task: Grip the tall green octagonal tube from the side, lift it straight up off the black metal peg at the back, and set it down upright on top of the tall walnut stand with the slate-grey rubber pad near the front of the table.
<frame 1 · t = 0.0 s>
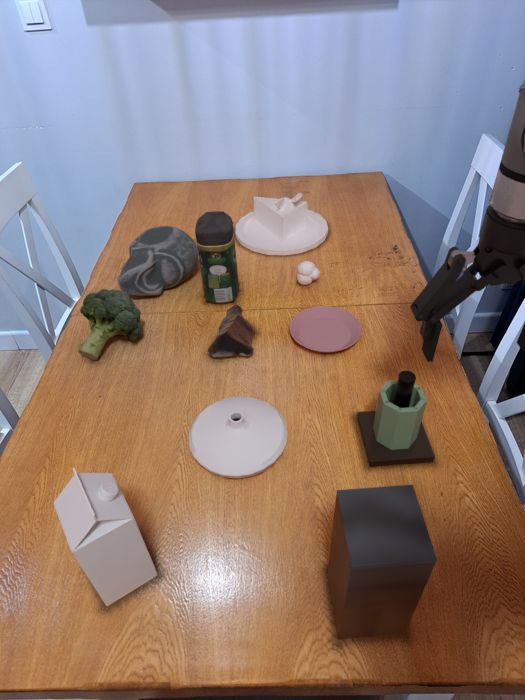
hand: (475, 352, 68), 18 cm above the table, tool pointing down, fingers open, 13 cm apart
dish: (281, 231, 132), on the table
plate: (324, 335, 99), on the table
coffee jar: (222, 293, 112), on the table
milk carton: (123, 569, 65), on the table
stand: (383, 525, 48), on the table
vegetable: (114, 343, 100), on the table
microfossil shell: (307, 283, 114), on the table
stone: (236, 338, 100), on the table
peg stand: (393, 438, 79), on the table
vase: (239, 445, 80), on the table
green octagonal tube: (394, 433, 78), point 1 cm above the table, touching peg stand
grey swirled rock: (163, 283, 116), on the table
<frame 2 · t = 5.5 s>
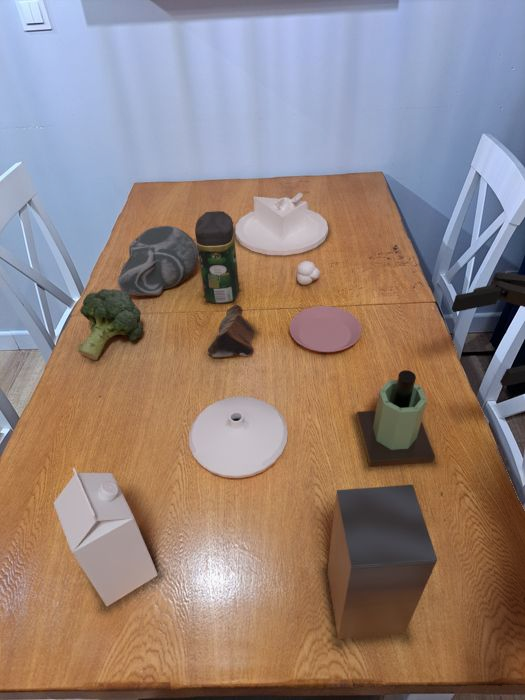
hand: (477, 338, 65), 21 cm above the table, tool horizontal, fingers open, 13 cm apart
nothing on the table moved.
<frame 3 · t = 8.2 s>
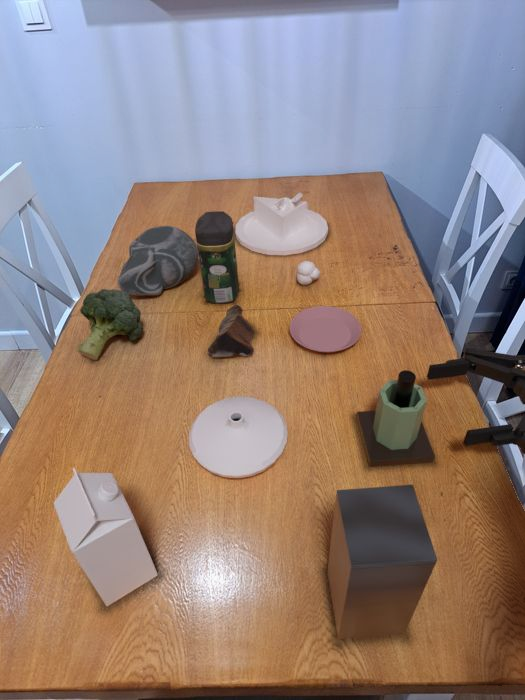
hand: (446, 403, 75), 7 cm above the table, tool horizontal, fingers open, 13 cm apart
nothing on the table moved.
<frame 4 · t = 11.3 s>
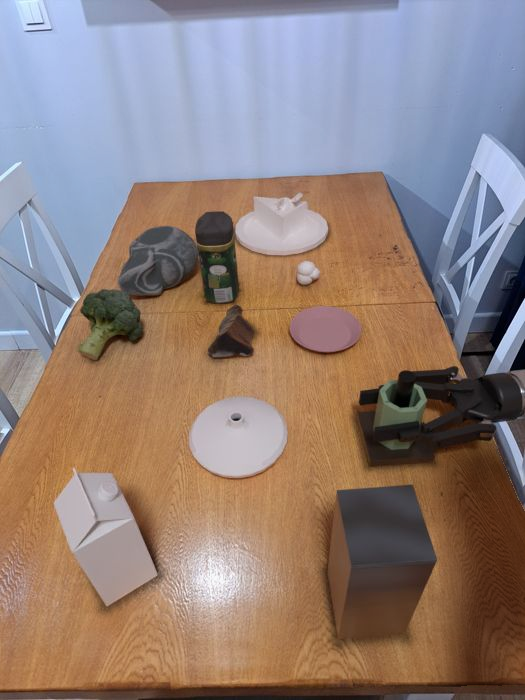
hand: (367, 415, 74), 7 cm above the table, tool horizontal, fingers closed on green octagonal tube, 7 cm apart
green octagonal tube: (394, 433, 78), point 1 cm above the table, touching gripper, peg stand
everything else where it was.
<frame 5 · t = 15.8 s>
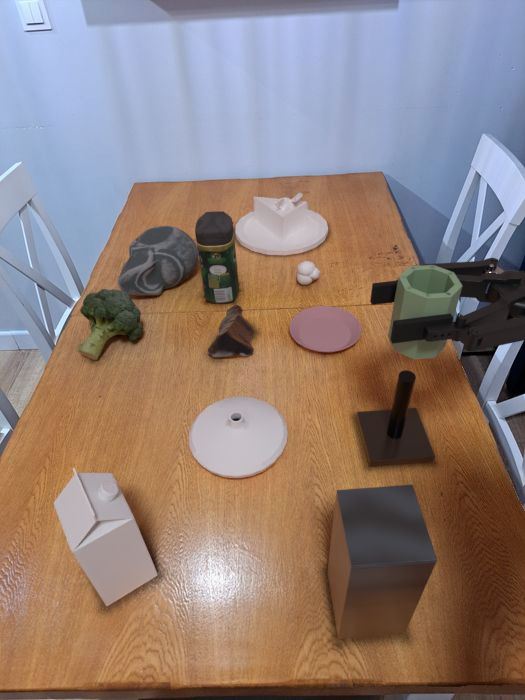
hand: (382, 312, 57), 29 cm above the table, tool horizontal, fingers closed on green octagonal tube, 7 cm apart
green octagonal tube: (416, 341, 61), point 24 cm above the table, touching gripper
everything else where it was.
when the fingers open (25 cm above the table, at t = 20.6 s): green octagonal tube stays where it is, resting on stand.
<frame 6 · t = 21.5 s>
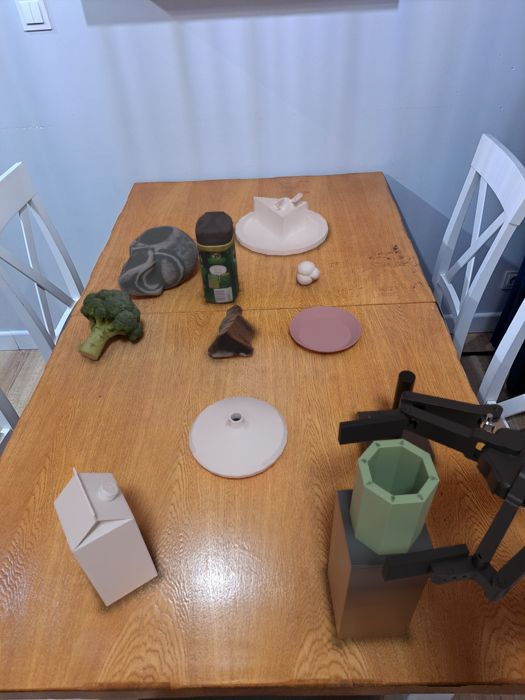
hand: (359, 493, 44), 26 cm above the table, tool horizontal, fingers open, 13 cm apart
green octagonal tube: (384, 522, 48), point 20 cm above the table, touching stand
everything else where it was.
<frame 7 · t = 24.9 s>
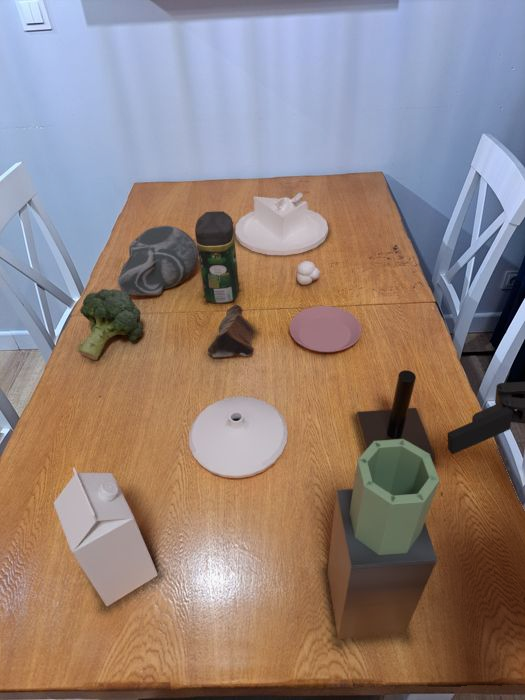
hand: (495, 500, 43), 26 cm above the table, tool horizontal, fingers open, 13 cm apart
nothing on the table moved.
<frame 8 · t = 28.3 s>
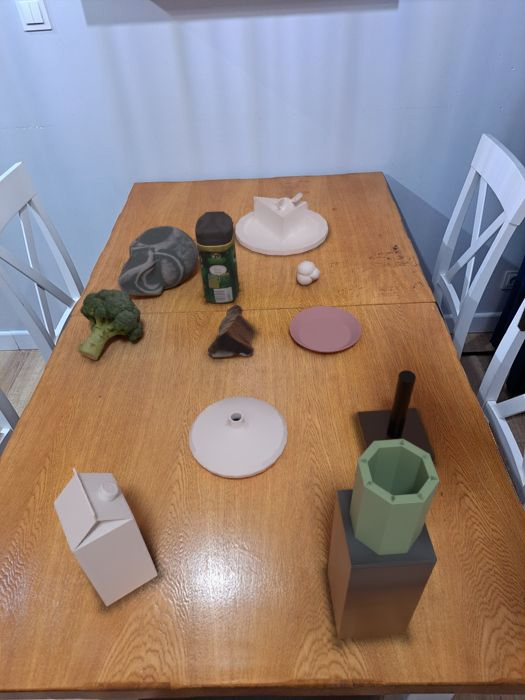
nothing on the table moved.
at the end: green octagonal tube 0.0 cm off-centre on the stand, point 0.6 cm above the stand's base; green octagonal tube tilted 0°; the gripper is holding nothing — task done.
